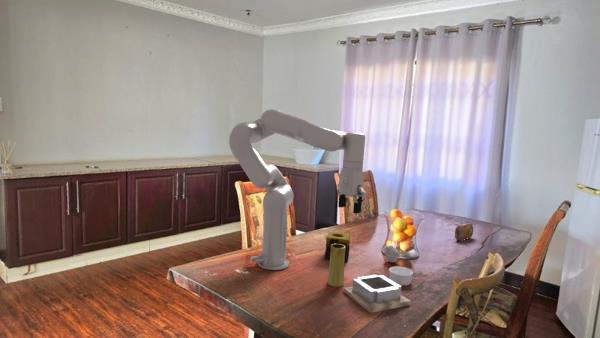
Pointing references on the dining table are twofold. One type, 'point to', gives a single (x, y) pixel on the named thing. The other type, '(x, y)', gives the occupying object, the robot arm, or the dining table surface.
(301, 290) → the dining table surface
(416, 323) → the dining table surface
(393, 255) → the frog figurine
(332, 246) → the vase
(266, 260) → the robot arm
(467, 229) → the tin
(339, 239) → the dark olive cube holder
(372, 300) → the collar
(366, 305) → the stand board
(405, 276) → the ramekin
